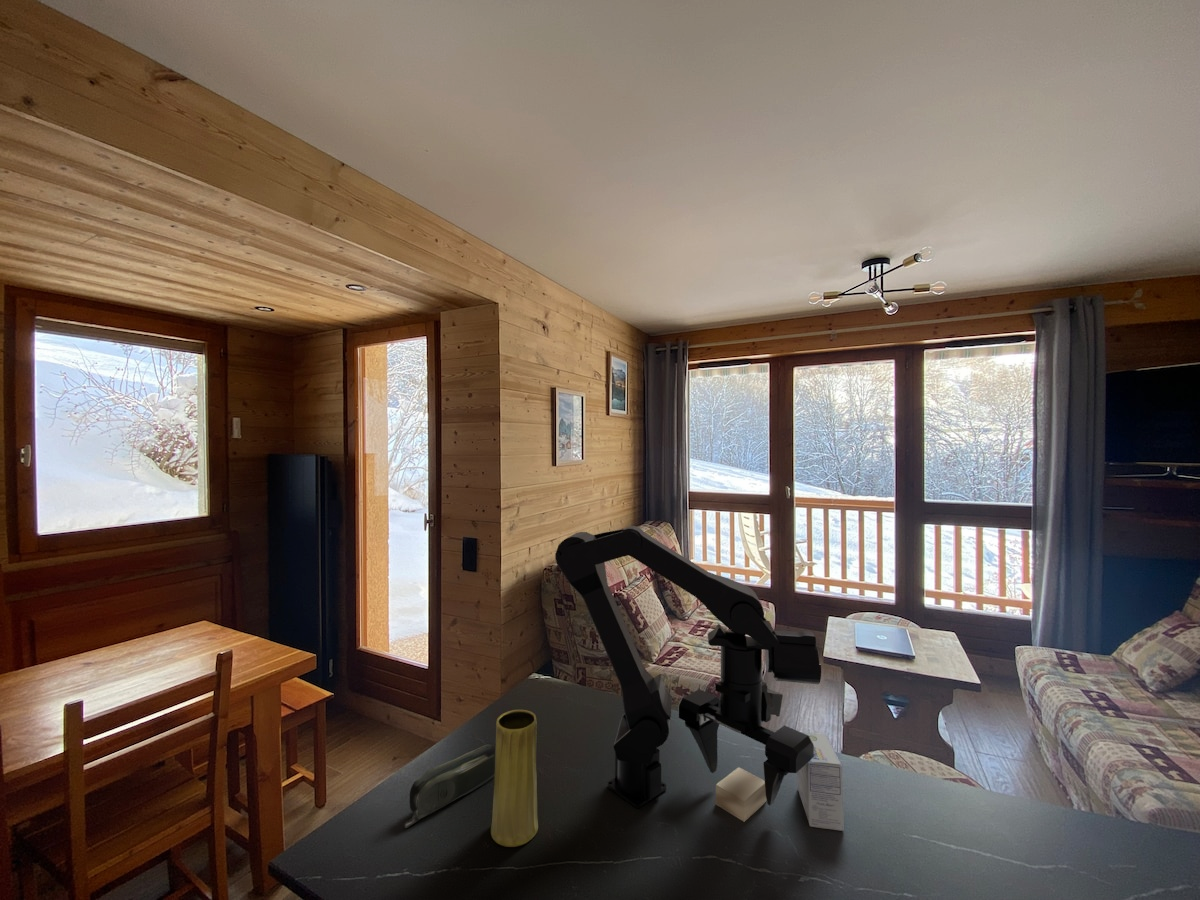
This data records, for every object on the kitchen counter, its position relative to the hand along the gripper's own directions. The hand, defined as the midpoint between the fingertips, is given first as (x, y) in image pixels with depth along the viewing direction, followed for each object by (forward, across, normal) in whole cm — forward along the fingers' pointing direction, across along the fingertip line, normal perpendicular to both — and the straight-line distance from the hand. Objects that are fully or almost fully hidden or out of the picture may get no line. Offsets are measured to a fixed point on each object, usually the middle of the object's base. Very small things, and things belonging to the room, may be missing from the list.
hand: (740, 786), depth 69 cm
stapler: (+3, +28, +30) cm, 41 cm away
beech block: (+2, 0, 0) cm, 3 cm away
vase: (+2, +17, +27) cm, 32 cm away
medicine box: (+2, -8, -7) cm, 11 cm away
